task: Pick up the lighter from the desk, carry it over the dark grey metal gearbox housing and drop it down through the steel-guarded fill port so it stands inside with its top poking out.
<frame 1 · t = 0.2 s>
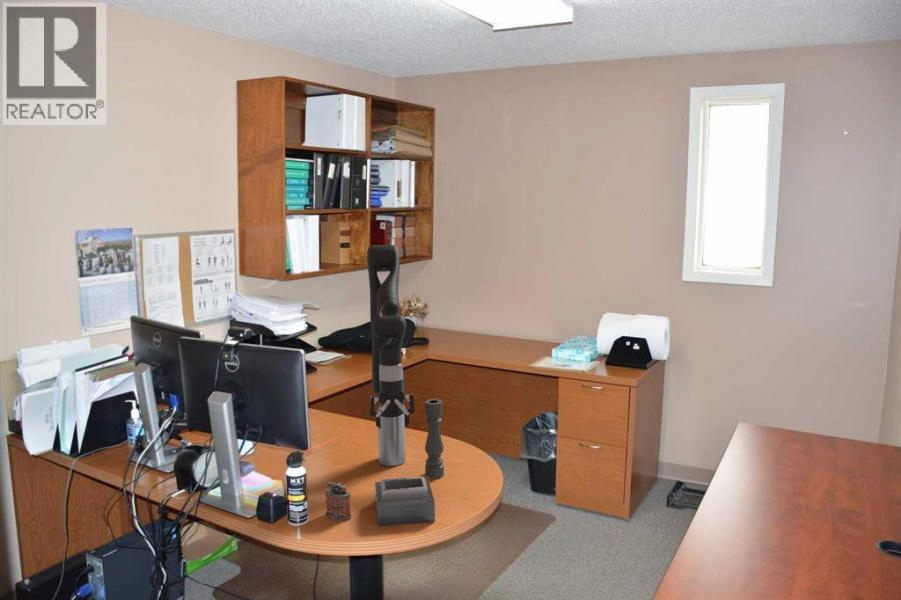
hand: (392, 426, 227), 17 cm above the table, tool pointing down, fingers open, 8 cm apart
lighter: (338, 517, 204), on the table
candle holder: (434, 475, 232), on the table
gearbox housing: (404, 511, 207), on the table
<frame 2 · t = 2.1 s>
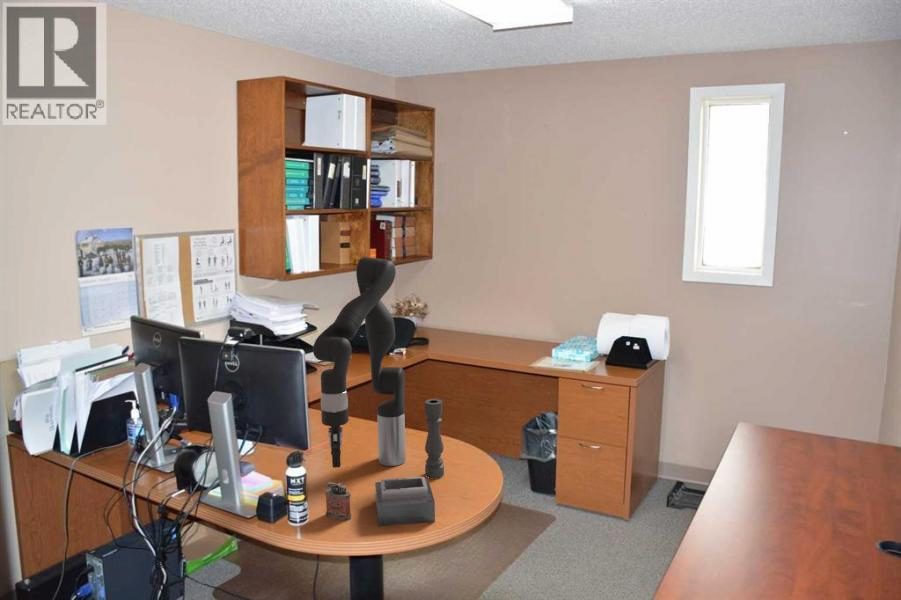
hand: (336, 461, 201), 17 cm above the table, tool pointing down, fingers open, 8 cm apart
nothing on the table moved.
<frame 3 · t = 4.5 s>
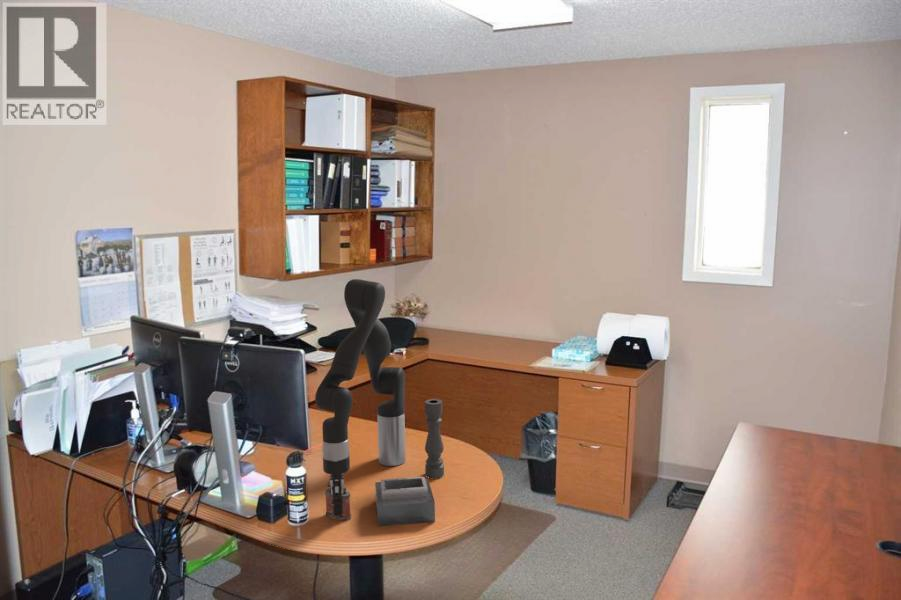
hand: (338, 510, 204), 2 cm above the table, tool pointing down, fingers closed on lighter, 4 cm apart
lighter: (338, 517, 204), on the table, touching gripper
everything else where it was.
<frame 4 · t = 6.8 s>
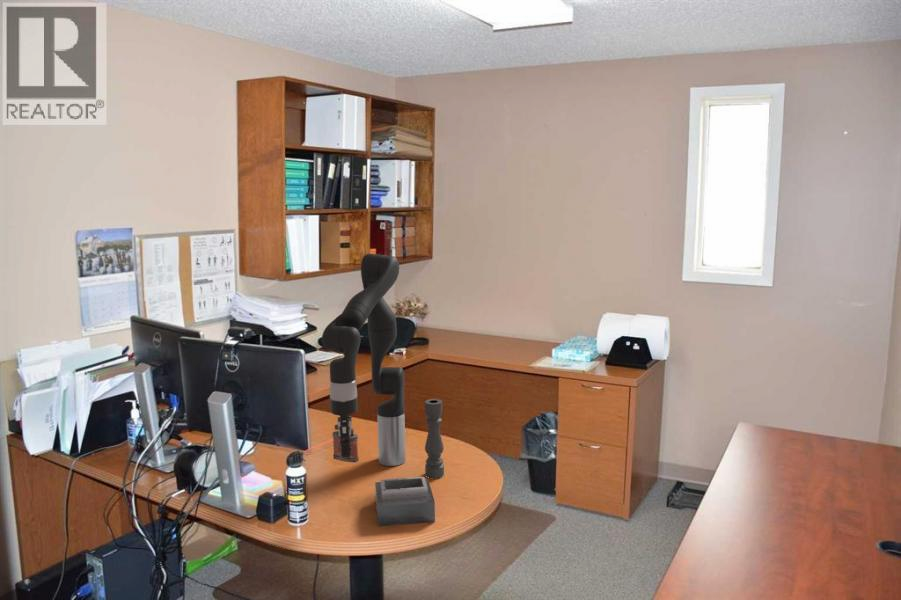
hand: (345, 452, 202), 19 cm above the table, tool pointing down, fingers closed on lighter, 4 cm apart
lighter: (346, 459, 202), point 17 cm above the table, touching gripper
everything else where it was.
when the fingers open (12 cm above the table, at t = 9.5 s): lighter drops 10 cm, resting in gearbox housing.
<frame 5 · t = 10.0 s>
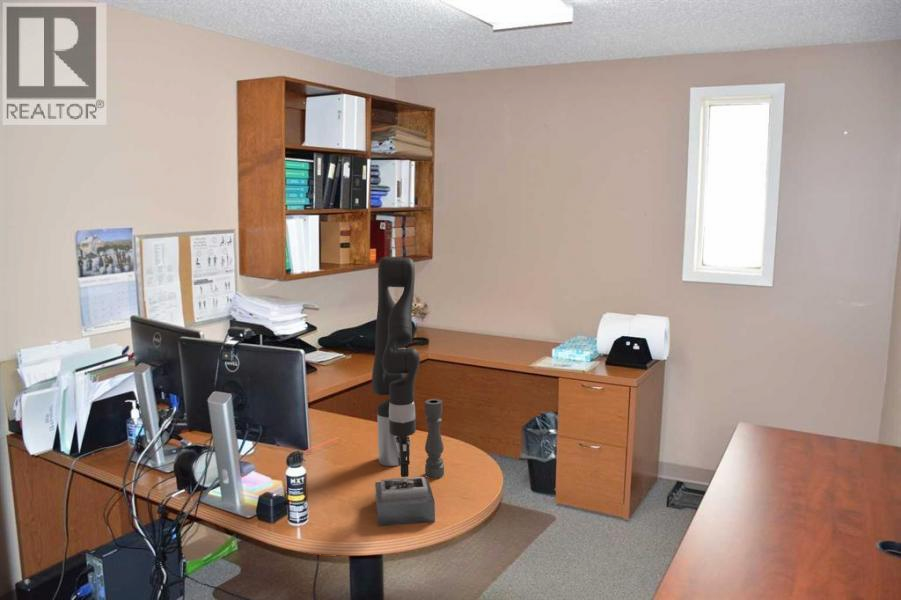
hand: (403, 470, 205), 13 cm above the table, tool pointing down, fingers open, 8 cm apart
lighter: (404, 513, 206), resting in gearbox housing
everything else where it was.
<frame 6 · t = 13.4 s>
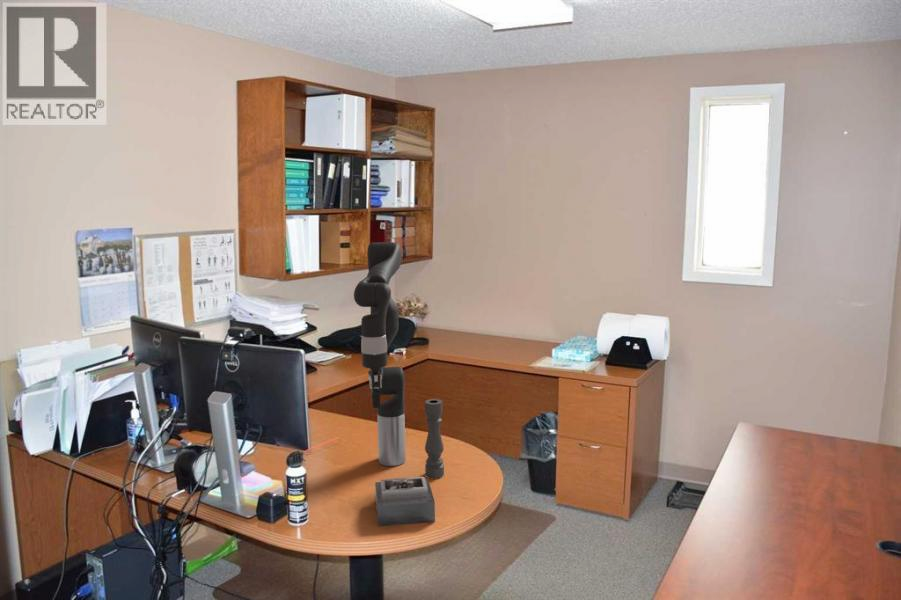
hand: (375, 403, 211), 30 cm above the table, tool pointing down, fingers open, 8 cm apart
nothing on the table moved.
at the end: lighter 0.9 cm off-centre on the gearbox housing, point 0.0 cm above the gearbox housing's base; the gripper is holding nothing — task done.
